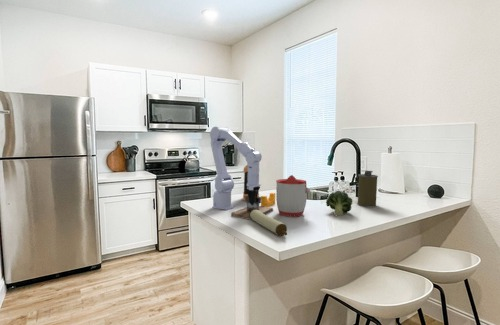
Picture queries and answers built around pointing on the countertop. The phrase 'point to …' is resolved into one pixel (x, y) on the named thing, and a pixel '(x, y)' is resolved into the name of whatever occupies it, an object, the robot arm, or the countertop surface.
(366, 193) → the canister
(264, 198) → the pipe clamp
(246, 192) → the whiskey bottle
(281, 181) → the citrus juicer
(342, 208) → the vegetable
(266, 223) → the beige long cylinder
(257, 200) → the twist cap
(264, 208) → the base plate
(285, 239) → the countertop surface
